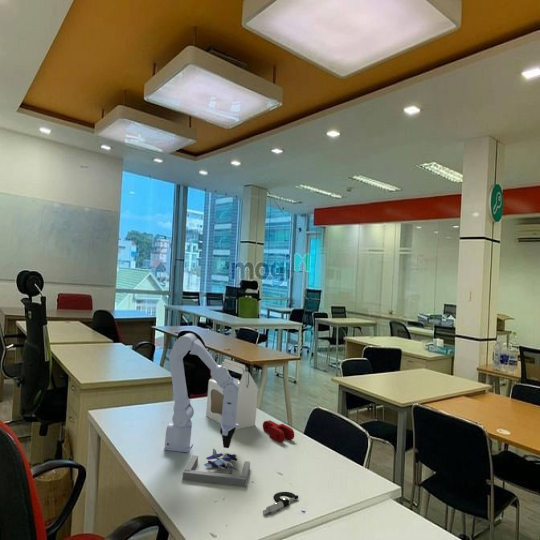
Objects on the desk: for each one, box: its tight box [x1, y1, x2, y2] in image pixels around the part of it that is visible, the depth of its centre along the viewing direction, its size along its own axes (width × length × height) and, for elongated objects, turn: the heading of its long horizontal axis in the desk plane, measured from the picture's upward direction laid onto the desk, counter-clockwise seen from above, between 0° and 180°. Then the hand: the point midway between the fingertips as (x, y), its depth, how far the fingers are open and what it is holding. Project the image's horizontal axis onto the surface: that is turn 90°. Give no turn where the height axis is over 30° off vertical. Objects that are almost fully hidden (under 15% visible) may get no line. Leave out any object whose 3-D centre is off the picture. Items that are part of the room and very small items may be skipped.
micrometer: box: [262, 491, 299, 516], centre depth 123 cm, size 15×7×2 cm, turn 134°
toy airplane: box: [203, 448, 239, 475], centre depth 142 cm, size 13×14×4 cm
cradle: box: [182, 455, 251, 488], centre depth 138 cm, size 21×13×2 cm, turn 87°
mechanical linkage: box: [262, 420, 295, 444], centre depth 176 cm, size 16×7×5 cm, turn 39°
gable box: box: [205, 358, 259, 431], centre depth 191 cm, size 22×13×28 cm, turn 43°
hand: (226, 447), depth 156 cm, fingers closed
